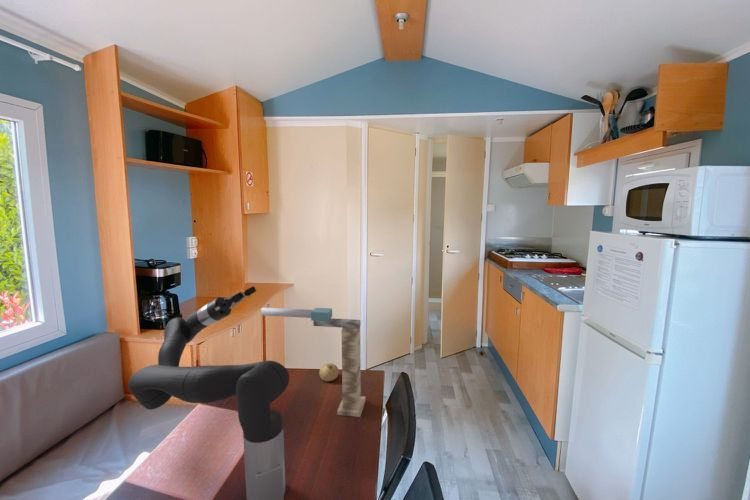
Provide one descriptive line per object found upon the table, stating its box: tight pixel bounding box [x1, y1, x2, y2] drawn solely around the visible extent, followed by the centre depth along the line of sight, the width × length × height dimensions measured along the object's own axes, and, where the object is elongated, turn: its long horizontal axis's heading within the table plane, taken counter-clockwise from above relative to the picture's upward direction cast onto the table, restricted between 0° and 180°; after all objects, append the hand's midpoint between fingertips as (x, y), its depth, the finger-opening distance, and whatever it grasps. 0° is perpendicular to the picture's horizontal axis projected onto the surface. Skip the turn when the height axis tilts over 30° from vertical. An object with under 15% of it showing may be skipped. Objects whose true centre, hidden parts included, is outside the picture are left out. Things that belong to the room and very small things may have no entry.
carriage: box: [260, 307, 333, 322], centre depth 118 cm, size 25×5×3 cm, turn 81°
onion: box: [318, 362, 339, 382], centre depth 139 cm, size 8×8×7 cm
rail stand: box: [312, 317, 366, 418], centre depth 118 cm, size 17×10×32 cm, turn 81°
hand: (248, 291), depth 120 cm, fingers open, 8 cm apart
